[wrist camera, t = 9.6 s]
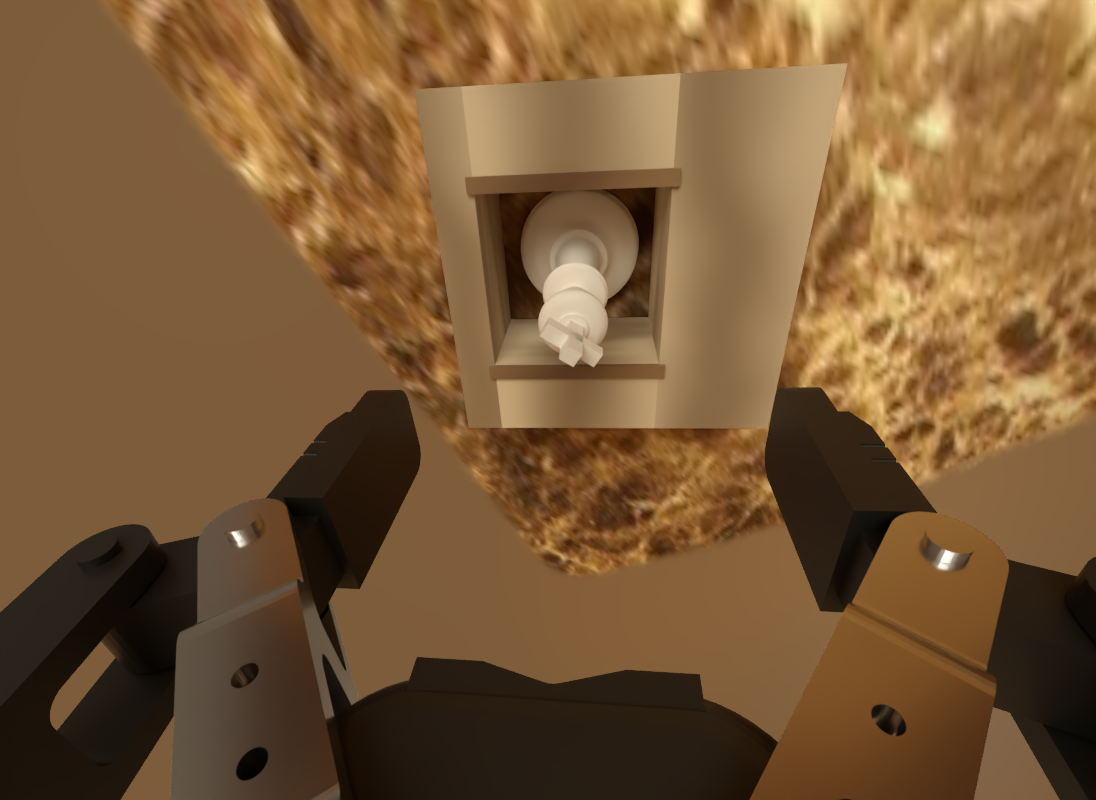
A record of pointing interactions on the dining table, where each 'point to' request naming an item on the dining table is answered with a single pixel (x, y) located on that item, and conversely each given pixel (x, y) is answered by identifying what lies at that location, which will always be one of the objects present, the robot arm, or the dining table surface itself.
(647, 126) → the socket block
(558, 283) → the chess piece
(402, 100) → the dining table surface
